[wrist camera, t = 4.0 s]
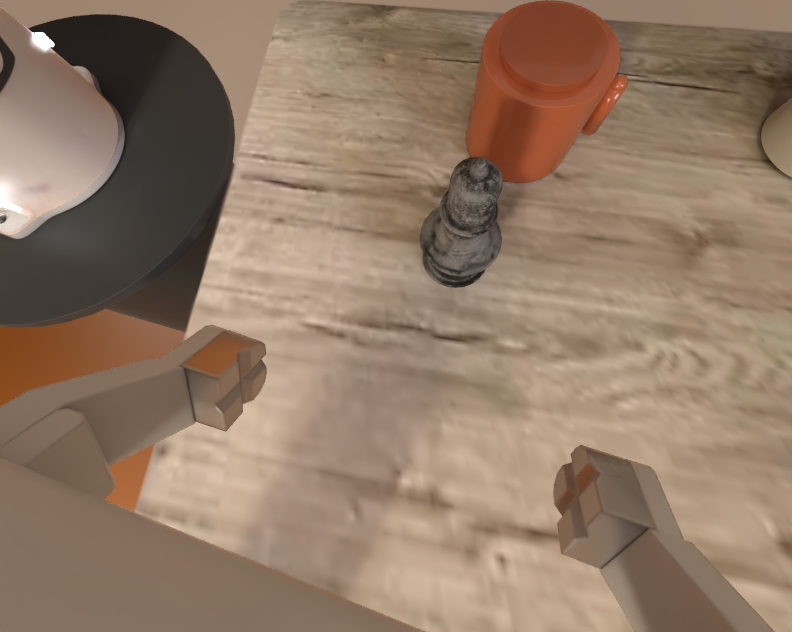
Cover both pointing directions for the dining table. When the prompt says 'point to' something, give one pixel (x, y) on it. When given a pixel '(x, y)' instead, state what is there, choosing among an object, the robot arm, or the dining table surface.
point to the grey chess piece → (464, 225)
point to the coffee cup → (542, 87)
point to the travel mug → (779, 137)
